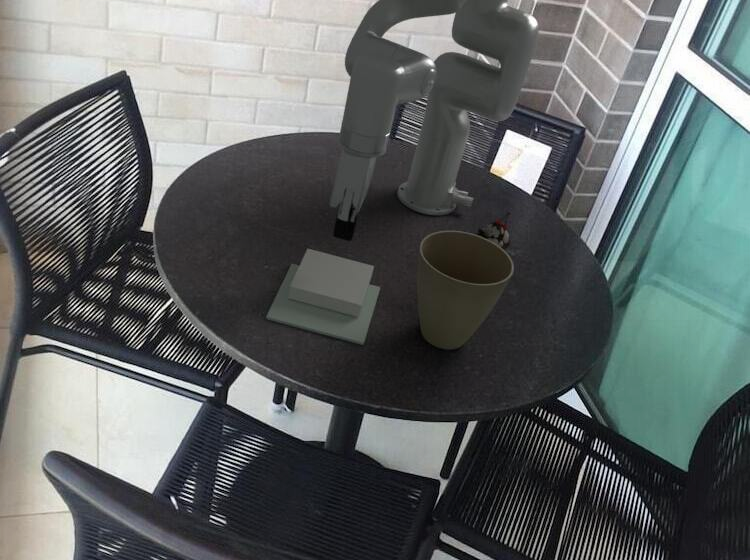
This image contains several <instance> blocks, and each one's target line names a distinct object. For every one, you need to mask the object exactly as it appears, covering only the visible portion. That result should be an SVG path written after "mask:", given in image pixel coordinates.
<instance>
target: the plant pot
mask: <svg viewBox="0 0 750 560" xmlns="http://www.w3.org/2000/svg"><path fill="white" fill-rule="evenodd" d="M514 266H515V265H514V262H513V260H512V258H511V257H510V255H509V254H508V253H507V252H506V250H503V249H502V248H501V247H499V246H498V245H496V244H495V243H493V242H491V241H490V240H488V239H485V238H483V237H481V236H478V235H475V233H470V232H466V231H459V230H439V231H436V232H433V233H430V234H428V235H427V236H425V237H424V238H423V239H422V240H421V242H420V244H419V251H418V263H417V275H416V277H417V280H416V287H417V290H416V291H417V294H416V295H417V296H416V297H417V311H418V317H419V324H420V325H419V326H420V331H421V335H422V337H423V338H424V340H425V341H426V342H427V343H429V345H432V346H433V347H436V348H439V349H443V350H455V349H459V348H461V347H463V345H464V344H466V342H467V341H468V340H470V338H471V337H472V336H473V335H474V333H475V332H476V331H477V330H478V329H479V327H480V326H481V325H482V324H483V323H484V321H485V320H486V318H487V317H488V315H489V314H490V313H491V312H492V310H493V308H494V307H495V306H496V305H497V303H498V300H499V299H500V298H501V295H502V294H503V292H504V291H505V289H506V287H507V285H508V283H509V282H510V280H511V278H512V277H513V274H514V269H515V267H514Z"/></svg>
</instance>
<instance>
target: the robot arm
mask: <svg viewBox="0 0 750 560" xmlns="http://www.w3.org/2000/svg"><path fill="white" fill-rule="evenodd" d="M508 1H509V0H377V1H376V2H374V4H373V5H372V6H371V7H370V8H369V9H368V10H367V12H366V13H365V14H364V15H363V18H362V19H361V21H360V23H359V25H358V27H357V29H356V30H355V32H354V34H353V36H352V38H351V40H350V42H349V45H348V46H347V50H346V52H345V57H344V68H345V71H346V73H347V75H348V76H349V77H350V78H349V84H348V89H347V94H346V95H347V96H346V100H345V105H344V110H343V116H342V121H341V126H340V130H339V137H338V145H339V146H340V148H342V151H341V154H340V157H339V162H338V167H337V170H336V174H335V179H334V184H333V187H332V193H331V196H330V200H329V206H330V208H337V207H338V206H339V207H338V213H337V215H336V218H335V223H334V228H333V233H332V235H333V237H334V238H336V239H340V240H343V241H348V242H352V240H353V237H354V235H355V231H356V226H357V221H358V216H357V215H358V213H359V212H360V211H361V209H362V206H363V203H364V201H365V198H366V196H367V193H368V191H369V188H370V184H371V182H372V179H373V174H374V170H375V167H376V163H377V159H378V157H381V156H383V155H384V154H385V153H386V152H387V148H388V144H389V141H390V140H389V139H390V135H391V131H392V127H393V123H394V118H395V114H396V110H397V106H398V105H402V104H407V103H414V102H417V101H419V100H422V99H423V98H425V97H426V96H427V99H426V107H425V112H424V116H423V120H422V124H421V127H420V132H419V136H418V140H417V144H416V147H415V151H414V155H413V159H412V163H411V167H410V171H409V175H408V179H407V181H405V182H402V183H401V184H400V185H399V187H398V189H397V193H396V194H397V198H398V200H399V201H400V202H401V203H402V204H403V205H404V206H406V207H407V208H408V209H410V210H413V211H415V212H417V213H420V214H423V215H429V216H444V215H449V214H450V213H452V212H454V211H455V209H456V205H457V204H460V205H462V206H466V207H470V208H471V207H472V204H473V200H474V197H472V196H471V197H470V196H468V194H469V192H468V191H464V190H460V189H458V188H457V187H456V185H457V181H456V180H457V177H458V173H459V171H460V170H459V169H460V166H461V162H462V159H463V156H464V153H465V149H466V146H467V141H468V140H469V139H468V138H469V135H470V130H471V125H470V123H471V122H470V117H469V114H468V112H469V113H472V114H474V115H477V116H480V117H482V118H484V119H488V120H491V121H493V122H494V121H495V122H503V121H505V120H507V119H509V117H510V116H511V115H512V113H513V112H514V109H515V107H516V105H517V103H518V99H519V96H520V94H521V91H522V88H523V85H524V82H525V80H526V76H527V74H528V70H529V68H530V65H531V62H532V58H533V56H534V53H535V49H536V45H537V43H538V39H539V33H540V32H539V23H538V20H537V18H536V17H535V16H533V15H532V14H531V13H529V12H526V11H524V10H521V9H517V8H515V7H512V6H510V5H509V4H508ZM452 14H454V18H453V22H452V26H451V37H452V39H453V41H454V43H456V44H457V45H458V46H461V47H463V48H464V49H466V50H468V51H472V52H475V53H477V54H480V55H482V56H486V57H488V58H490V59H493V60H495V61H498V63H499V66H500V67H498V66H496V65H493V64H490V63H488V62H485V61H484V60H480V59H478V58H475V57H472V56H470V55H467V54H464V53H461V52H456V51H455V52H454V51H448V52H443V53H442V54H440V55H439V56H437V57H436V58H435V60H434V61H433V59H432V58H430V57H429V56H428V55H426V54H424V53H422V52H420V51H417V50H415V49H412V48H409V47H407V46H405V45H403V44H399V43H397V42H394V41H391V40H389V39H387V38H384V37H383V36H384V35H385V34H386V33H387V32H388V31H389V30H390V29H391V28H392V27H395V26H396V25H397V24H400V23H403V22H404V21H405V22H406V21H409V20H413V19H419V18H420V19H421V18H427V17H428V18H429V17H431V18H432V17H439V16H448V15H452Z"/></svg>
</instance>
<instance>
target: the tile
mask: <svg viewBox="0 0 750 560" xmlns="http://www.w3.org/2000/svg"><path fill="white" fill-rule="evenodd" d="M374 268H375V265H372V264H367V263H363V262H359V261H356V260H353V259H349V258H344V257H342V256H338V255H334V254H330V253H326V252H322V251H319V250H314V249H312V248H311V249H310V248H307V249H306V251H305V253H304V254H303V258H302V259H301V262H300V265H299V268H298V270H297V272H296V275H295V277H294V279H293V281H292V283H291V285H290V290H289V295H288V298H289V299H293V300H296V301H300V302H304V303H307V304H311V305H315V306H319V307H322V308H326V309H330V310H333V311H337V312H341V313H345V314H348V315H352V316H356V317H359V315H360V312H361V309H362V305H363V302H364V299H365V296H366V293H367V290H368V287H369V284H370V283H371V280H372V276H373V272H374ZM370 285H371V284H370Z"/></svg>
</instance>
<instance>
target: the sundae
mask: <svg viewBox="0 0 750 560" xmlns="http://www.w3.org/2000/svg"><path fill="white" fill-rule="evenodd" d="M510 215H511V212H506V215H505V216H504V217H502V219H495V220H494V221H493V222H489V223H488V224H486V225H485V227H482V228H481V227H478V228H477V230H476V231H475V233H474V234H475V235H478V236H481V237H483V238H485V239H488V240H490V241H491V242H493V243H495V244H496V245H498V246H499V247H501V248H502V249H503V250H504V251H506V250H507V249H509V247H511V245H512V244H513V242H512V240H511V239H510V236H509V232H508V231H507V229H508V225H507V222H508V221H507V220H508V217H509V216H510ZM504 219H505V223H502V221H503V220H504Z"/></svg>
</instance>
